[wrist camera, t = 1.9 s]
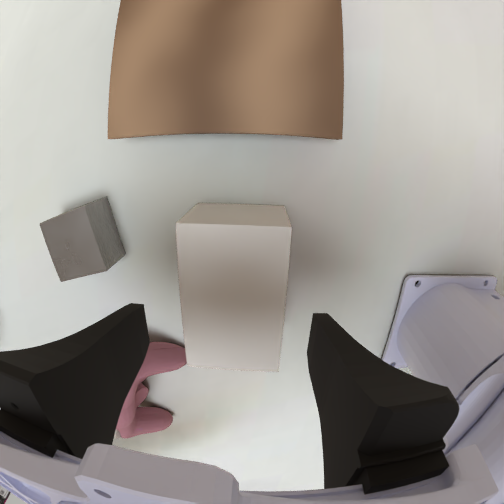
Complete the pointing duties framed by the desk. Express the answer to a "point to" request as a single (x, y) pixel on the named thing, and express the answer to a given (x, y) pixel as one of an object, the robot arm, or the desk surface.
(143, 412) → the video game controller
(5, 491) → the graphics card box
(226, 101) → the tan curved panel
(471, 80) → the desk surface
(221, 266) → the light grey rectangular block
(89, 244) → the grey block
